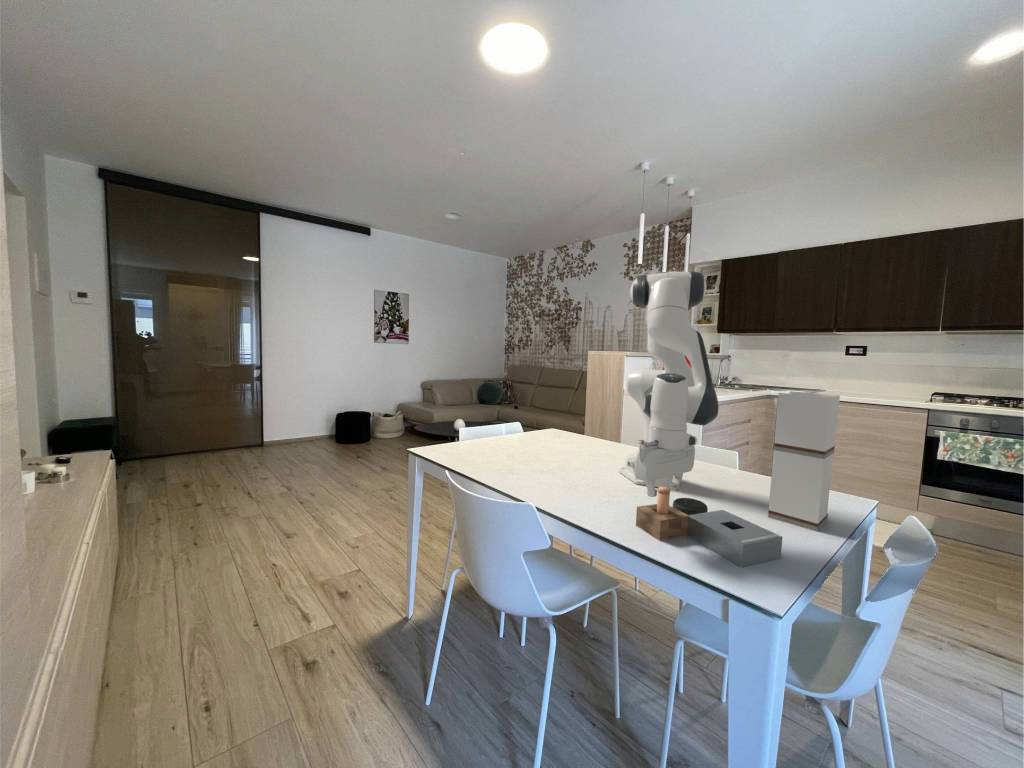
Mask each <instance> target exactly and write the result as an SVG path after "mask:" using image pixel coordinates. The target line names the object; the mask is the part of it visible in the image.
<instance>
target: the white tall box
mask: <svg viewBox="0 0 1024 768" xmlns="http://www.w3.org/2000/svg"><path fill="white" fill-rule="evenodd" d="M840 398H841V396H840V395H839V394H829V393H817V392H816V393H815V392H806V391H805V392H804V391H795V390H789V392H788V393H783V392H779V393H778V395H777V405H776V406H777V407H776V408H777V409H776V418H775V429H774V430H775V431H774V440H773V441H774V443H773V455H772V465H771V476H770V477H771V479H770V488H769V489H770V490H769V501H768V511H767V518H769V519H774V520H777V521H781V522H784V523H787V524H790V525H794V526H798V527H801V528H804V529H808V530H811V531H814V532H818V531H819V530H820V529H822V527H823V526H824V525H825V524H826V523H827V522H828V521H829V520H828V519H829V513H828V508H829V499H830V490H831V489H830V486H831V477H832V470H833V469H832V467H833V459H834V456H835V446H836V440H837V439H836V437H837V427H838V419H839V418H838V417H839V410H840V409H839V407H840Z"/></svg>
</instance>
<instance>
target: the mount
mask: <svg viewBox="0 0 1024 768" xmlns="http://www.w3.org/2000/svg"><path fill="white" fill-rule="evenodd" d="M635 516H636V518H635V520H636V521H635V526H637V527H638V528H640V529H641V530H642V531H644V532H645V533H647V534H648V535H650V536H652V537H653V538H654V539H657V540H658V541H665V540H671V539H676V538H681V537H682V538H683V537H688V536H687V529H688V516H687V514H685V513H683V512H681V511H679V510H677V509H675V508H673V506H671V505H670V504H669V514H667V515H661V514H659V513H657V503H655V504H648V505H639V506H636V515H635Z"/></svg>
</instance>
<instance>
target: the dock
mask: <svg viewBox="0 0 1024 768" xmlns="http://www.w3.org/2000/svg"><path fill="white" fill-rule="evenodd" d="M687 516H688V529H687V536H686V537H688V538H691V539H693V540H694V541H695V542H698V543H699V544H701V545H703V546H704V547H706V548H708V549H710V550H711V551H713V552H715V553H716V554H718V555H720V556H722V557H723V558H725V559H726V560H729V561H730V562H732V563H733V564H736V565H737V566H739V567H740V568H745V567H748V566H752V565H757V564H761V563H765V562H771V561H774V560H779V559H781V558H782V546H783V536H782V535H779V534H777V533H775V532H773V531H771V530H769V529H766V528H765V527H762V526H759V525H757V524H755V523H753V522H751V521H748V520H746V519H744V518H742V517H739V516H738V515H735V514H734V513H731V512H729V511H727V510H725V509H720V510H714V511H708V512H706V513H699V514H693V515H687Z"/></svg>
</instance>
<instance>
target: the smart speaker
mask: <svg viewBox="0 0 1024 768" xmlns="http://www.w3.org/2000/svg"><path fill="white" fill-rule="evenodd" d="M672 507H673V508H675V509H677V510H679V511H681V512H683V513H685V514H687V515H693V514H699V513H706V512H709V510H708V505H707V504H706V503H704V502H703V501H701V500H698V499H695V498H690V497H679V498H676V499H674V500H673V502H672Z"/></svg>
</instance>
